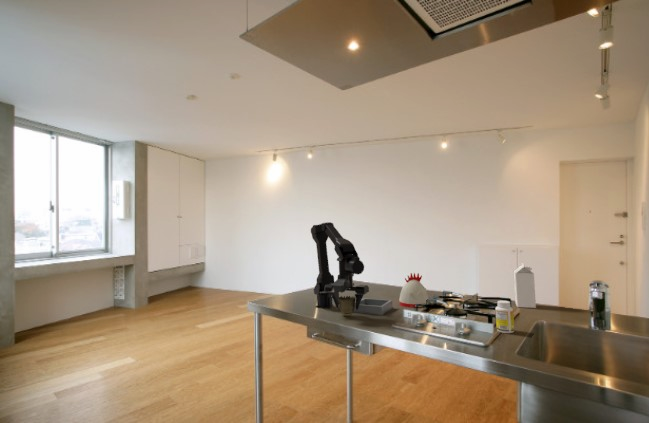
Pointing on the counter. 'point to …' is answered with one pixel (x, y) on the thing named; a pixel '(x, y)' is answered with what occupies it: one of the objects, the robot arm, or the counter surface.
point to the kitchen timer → (413, 292)
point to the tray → (374, 306)
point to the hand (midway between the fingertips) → (347, 308)
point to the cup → (347, 305)
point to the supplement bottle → (504, 317)
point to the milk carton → (524, 287)
